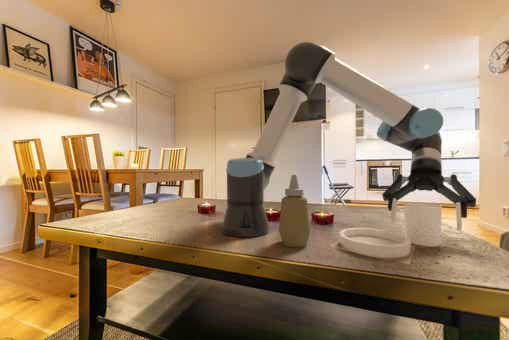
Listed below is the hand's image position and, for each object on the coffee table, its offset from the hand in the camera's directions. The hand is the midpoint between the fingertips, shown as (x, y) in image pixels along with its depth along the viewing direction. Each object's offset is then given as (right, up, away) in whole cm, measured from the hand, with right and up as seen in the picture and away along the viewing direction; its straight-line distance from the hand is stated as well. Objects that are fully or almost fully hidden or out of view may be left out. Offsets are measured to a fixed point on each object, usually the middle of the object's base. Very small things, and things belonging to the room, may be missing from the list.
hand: (423, 223), depth 57 cm
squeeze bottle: (-33, -6, 0) cm, 34 cm away
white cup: (0, -6, 0) cm, 6 cm away
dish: (-15, -5, -3) cm, 16 cm away
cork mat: (-15, -5, -3) cm, 16 cm away
